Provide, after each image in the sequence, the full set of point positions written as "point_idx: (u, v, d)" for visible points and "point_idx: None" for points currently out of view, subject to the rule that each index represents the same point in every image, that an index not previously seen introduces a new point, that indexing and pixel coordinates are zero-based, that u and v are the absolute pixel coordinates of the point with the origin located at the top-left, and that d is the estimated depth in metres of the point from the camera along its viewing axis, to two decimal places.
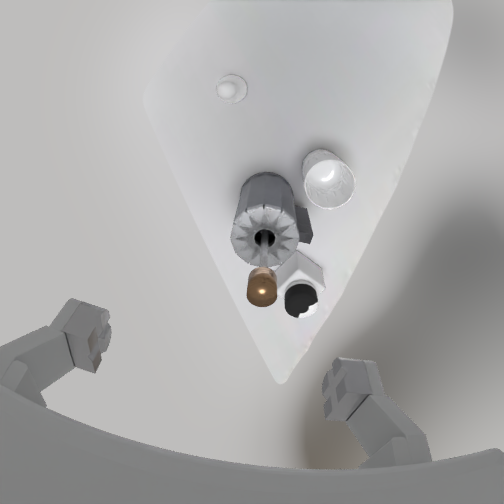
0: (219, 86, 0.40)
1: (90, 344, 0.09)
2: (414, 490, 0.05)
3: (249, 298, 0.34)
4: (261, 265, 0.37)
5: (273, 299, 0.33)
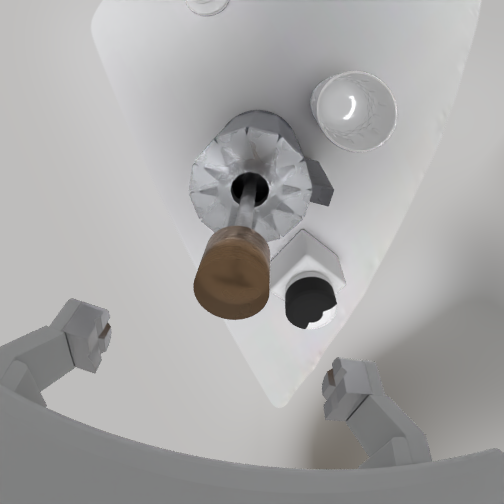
0: None
1: (90, 344, 0.09)
2: (414, 490, 0.05)
3: (202, 298, 0.14)
4: None
5: (260, 301, 0.13)
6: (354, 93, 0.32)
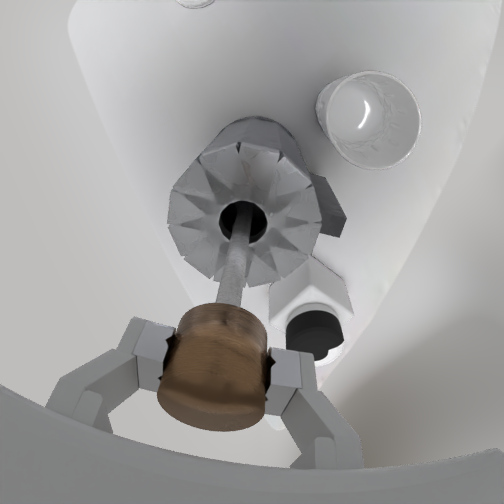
0: None
1: (163, 365, 0.09)
2: (414, 490, 0.05)
3: (171, 409, 0.09)
4: (222, 292, 0.13)
5: (252, 418, 0.09)
6: (367, 97, 0.27)
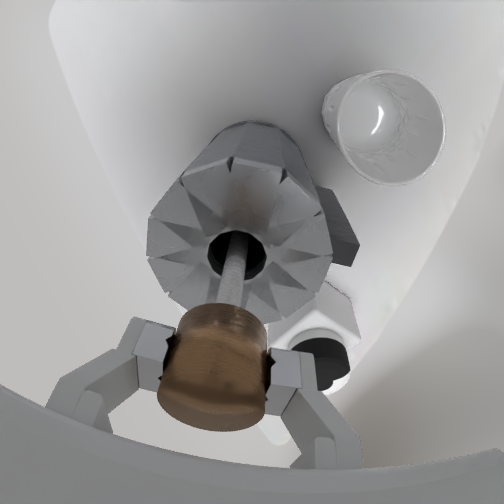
0: None
1: (163, 366, 0.09)
2: (414, 490, 0.05)
3: (171, 410, 0.09)
4: (222, 292, 0.13)
5: (252, 418, 0.09)
6: (380, 100, 0.24)
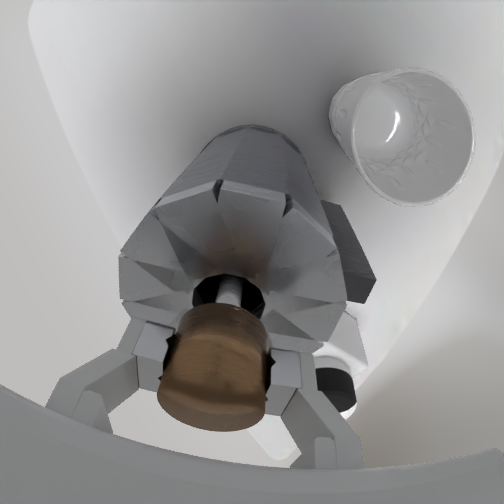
0: None
1: (163, 366, 0.09)
2: (414, 490, 0.05)
3: (171, 409, 0.09)
4: (222, 292, 0.13)
5: (252, 418, 0.09)
6: (395, 102, 0.20)
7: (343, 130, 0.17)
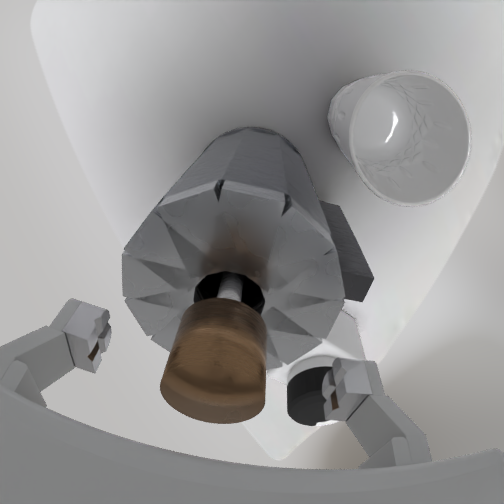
0: None
1: (90, 344, 0.09)
2: (414, 490, 0.05)
3: (174, 402, 0.09)
4: (223, 288, 0.13)
5: (252, 409, 0.09)
6: (393, 104, 0.21)
7: (341, 132, 0.17)
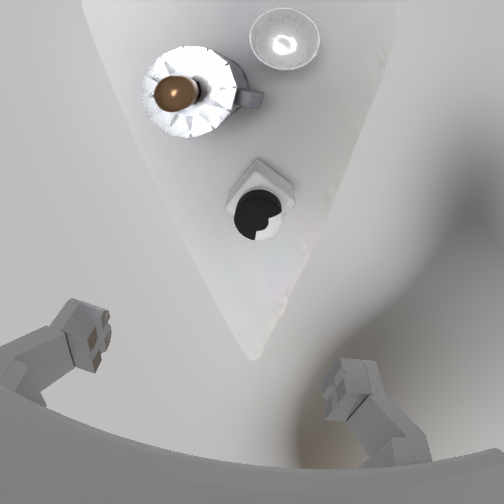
0: None
1: (90, 344, 0.09)
2: (414, 490, 0.05)
3: (158, 100, 0.23)
4: None
5: (186, 98, 0.23)
6: (293, 35, 0.35)
7: None
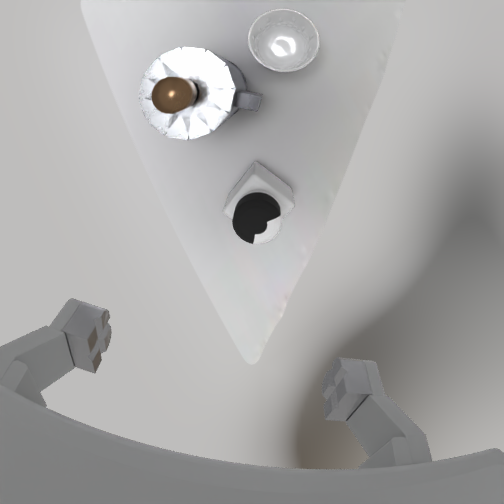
0: None
1: (90, 344, 0.09)
2: (414, 490, 0.05)
3: (155, 101, 0.23)
4: None
5: (184, 100, 0.23)
6: (293, 37, 0.35)
7: None
